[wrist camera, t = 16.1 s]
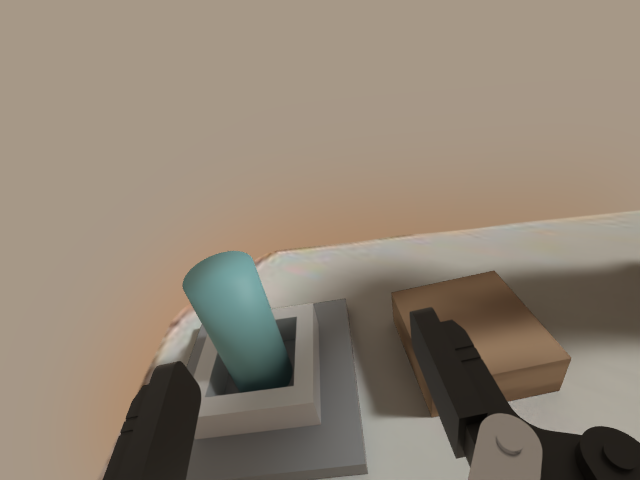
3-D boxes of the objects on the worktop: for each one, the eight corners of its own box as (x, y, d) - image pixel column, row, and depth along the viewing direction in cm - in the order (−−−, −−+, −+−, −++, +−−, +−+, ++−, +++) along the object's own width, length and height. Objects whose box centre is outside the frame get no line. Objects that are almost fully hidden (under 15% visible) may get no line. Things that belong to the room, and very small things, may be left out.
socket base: (208, 329, 38) (192, 300, 36) (347, 308, 37) (341, 277, 34) (153, 496, 25) (122, 469, 22) (368, 473, 24) (360, 442, 21)
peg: (263, 344, 33) (220, 245, 26) (303, 364, 30) (267, 259, 24) (226, 386, 30) (168, 286, 23) (267, 412, 27) (215, 307, 20)
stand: (393, 321, 34) (391, 292, 32) (490, 300, 34) (494, 270, 32) (431, 417, 26) (431, 387, 24) (559, 390, 26) (571, 357, 24)
